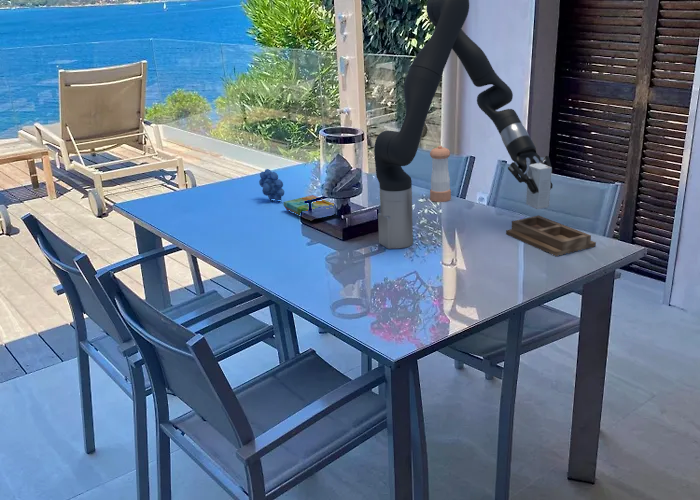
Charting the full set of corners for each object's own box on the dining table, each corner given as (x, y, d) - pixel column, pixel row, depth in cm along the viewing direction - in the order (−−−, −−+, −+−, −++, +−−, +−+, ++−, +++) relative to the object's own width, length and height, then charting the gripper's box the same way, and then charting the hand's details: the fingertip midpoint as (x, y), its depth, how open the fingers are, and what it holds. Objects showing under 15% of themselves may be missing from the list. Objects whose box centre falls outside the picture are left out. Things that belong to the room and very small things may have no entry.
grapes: (253, 202, 253) (250, 170, 249) (266, 197, 258) (263, 166, 254) (276, 206, 246) (273, 173, 242) (289, 201, 251) (286, 169, 247)
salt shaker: (426, 198, 245) (425, 145, 239) (443, 195, 248) (443, 142, 241) (437, 203, 239) (436, 149, 232) (454, 199, 242) (454, 146, 235)
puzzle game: (311, 192, 244) (342, 204, 228) (312, 205, 246) (343, 218, 230) (282, 199, 238) (312, 212, 223) (284, 212, 240) (313, 225, 224)
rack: (556, 256, 187) (556, 243, 185) (506, 234, 206) (506, 222, 204) (595, 246, 192) (596, 234, 191) (543, 225, 211) (543, 214, 210)
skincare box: (525, 204, 203) (526, 164, 198) (538, 202, 204) (539, 162, 200) (537, 210, 197) (538, 169, 193) (550, 207, 199) (552, 166, 194)
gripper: (503, 138, 197) (529, 188, 191) (543, 131, 203) (569, 179, 197) (492, 152, 204) (516, 201, 198) (530, 145, 209) (556, 193, 203)
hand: (543, 190), depth 197 cm, fingers closed on skincare box, 4 cm apart
